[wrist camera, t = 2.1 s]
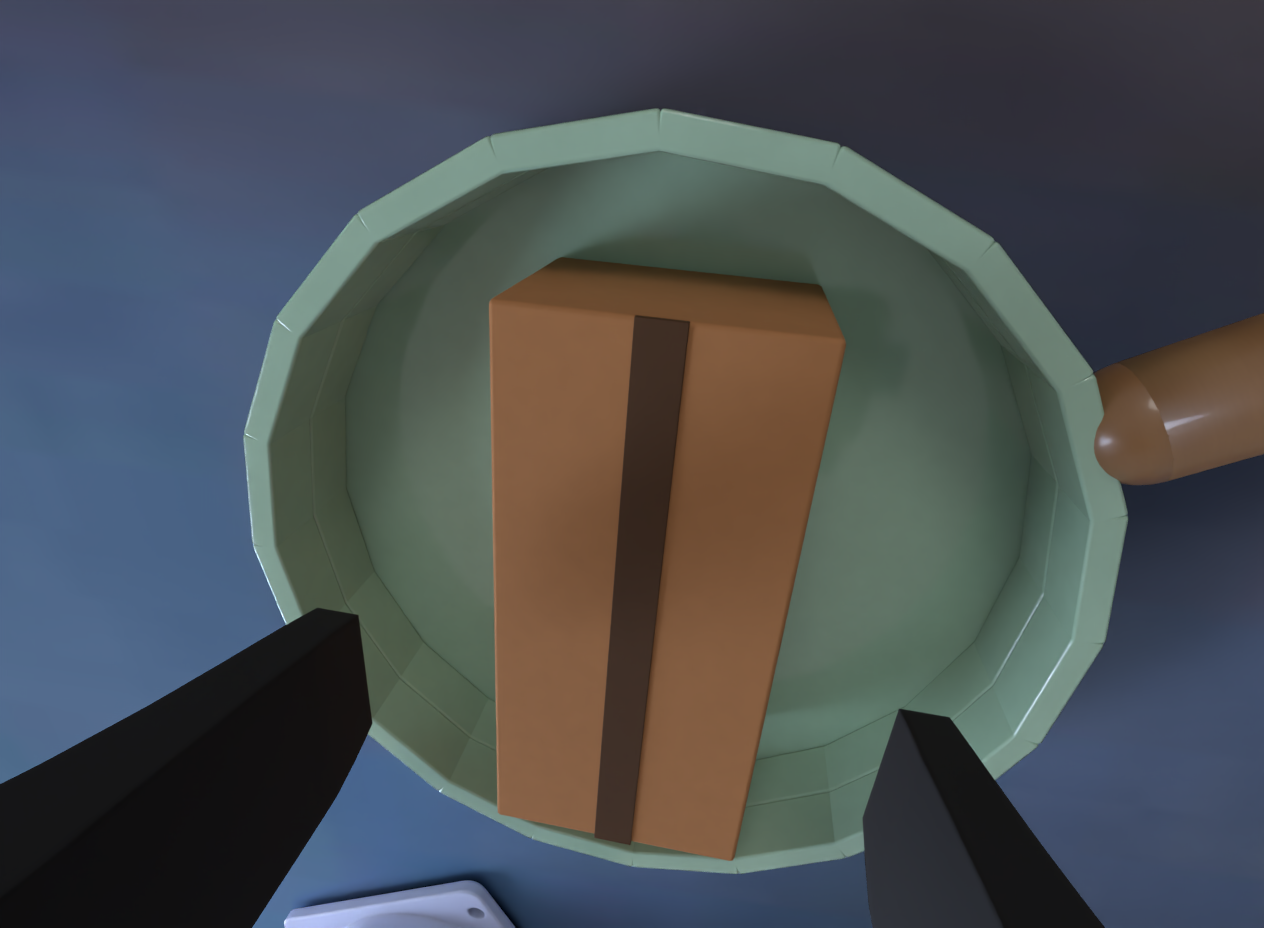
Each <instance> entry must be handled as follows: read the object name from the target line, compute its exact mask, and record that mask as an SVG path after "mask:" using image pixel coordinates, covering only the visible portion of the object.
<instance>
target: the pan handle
mask: <svg viewBox="0 0 1264 928" xmlns="http://www.w3.org/2000/svg"><path fill="white" fill-rule="evenodd" d="M1094 375H1095V376H1096V379H1097V383H1098V387H1099V392H1100V396H1101V400H1102V404H1103V409H1104V416H1103V419H1102V421H1101V423H1100V425H1099V426H1098V428H1097V431H1096V435H1095V440H1094V453H1095V457H1096V459H1097V461H1098V463H1099V465H1100V466H1101V467H1102V468H1103V470H1104V471H1105V472H1106V473H1107V474H1108V475H1110V476H1112V477H1114V478H1115V479H1117V480H1119V481H1120V482H1121V484H1127V485H1152V484H1157V483H1162V482H1166V481H1170V480H1173V479H1177V478H1180V477H1184V476H1187V475H1191V474H1195V473H1198V472H1202V471H1205V470H1209V469H1212V468H1216V467H1219V466H1223V465H1226V464H1230V463H1234V462H1237V461H1241V460H1244V459H1248V458H1251V457H1255V456H1258V455H1262V454H1264V313H1262V314H1259V315H1256V316H1253V317H1250V318H1247V319H1244V320H1241V321H1238V322H1235V323H1232V324H1229V325H1226V326H1224V327H1221V328H1218V329H1215V330H1212V331H1209V332H1206V333H1203V334H1200V335H1197V336H1194V337H1191V338H1188V339H1185V340H1182V341H1179V342H1176V343H1173V344H1170V345H1167V346H1164V347H1161V348H1158V349H1155V350H1152V351H1149V352H1146V353H1143V354H1141V355H1138V356H1135V357H1132V358H1129V359H1126V360H1123V361H1120V362H1117V363H1114V364H1112V365H1109V366H1107V367H1105V368H1102V369H1100V370H1098V371H1097V372H1095V373H1094Z"/></svg>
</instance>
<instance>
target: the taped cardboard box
mask: <svg viewBox="0 0 1264 928" xmlns="http://www.w3.org/2000/svg"><path fill="white" fill-rule="evenodd" d="M489 336H490V396H491V455H492V515H493V574H494V633H495V693H496V752H497V810H498V813H499V814H500V815H505V816H510V817H515V818H520V819H525V820H530V821H534V822H539V823H544V824H549V825H554V826H559V827H564V828H569V829H574V830H579V831H584V832H589V833H594V838H597V839H602V840H607V841H612V842H617V843H622V844H627V845H630V844H631V841H633V842H638V843H643V844H648V845H653V846H658V847H663V848H668V849H673V850H678V851H683V852H688V853H693V854H698V855H703V856H707V857H712V858H717V859H722V860H727V861H732V860H733V859H734V857H735V853H736V848H737V844H738V839H739V834H740V830H741V825H742V821H743V816H744V812H745V807H746V802H747V798H748V793H749V789H750V784H751V779H752V775H753V770H754V766H755V761H756V757H757V752H758V747H759V743H760V738H761V734H762V729H763V725H764V720H765V715H766V711H767V706H768V702H769V697H770V692H771V688H772V683H773V679H774V674H775V670H776V665H777V660H778V656H779V651H780V647H781V642H782V637H783V633H784V628H785V624H786V619H787V615H788V610H789V605H790V601H791V596H792V592H793V587H794V582H795V578H796V573H797V569H798V564H799V560H800V555H801V550H802V546H803V541H804V537H805V532H806V527H807V523H808V518H809V514H810V509H811V505H812V500H813V495H814V491H815V486H816V482H817V477H818V472H819V468H820V463H821V459H822V454H823V450H824V445H825V440H826V436H827V431H828V427H829V422H830V417H831V413H832V408H833V404H834V399H835V395H836V390H837V385H838V381H839V376H840V372H841V367H842V362H843V358H844V353H845V349H846V341H845V338H844V336H843V334H842V331H841V329H840V327H839V325H838V322H837V320H836V318H835V316H834V313H833V311H832V309H831V307H830V304H829V302H828V300H827V298H826V295H825V293H824V291H823V289H822V286H820V285H818V284H809V283H799V282H790V281H780V280H771V279H762V278H752V277H743V276H733V275H724V274H715V273H705V272H696V271H686V270H677V269H668V268H658V267H649V266H639V265H630V264H621V263H611V262H602V261H592V260H583V259H574V258H564V257H561V258H558V259H556V260H554V261H553V262H551V263H550V264H548V265H546V266H545V267H543V268H541V269H540V270H538V271H536V272H535V273H533V274H531V275H530V276H528V277H527V278H525V279H523V280H522V281H520V282H518V283H517V284H515V285H513V286H512V287H510V288H508V289H507V290H505V291H504V292H502V293H500V294H499V295H497V296H495V297H494V298H492V299H491V300H490V302H489Z"/></svg>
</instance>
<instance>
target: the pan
mask: <svg viewBox="0 0 1264 928" xmlns="http://www.w3.org/2000/svg"><path fill="white" fill-rule="evenodd" d="M561 257H564V258H574V259H583V260H592V261H602V262H611V263H621V264H630V265H639V266H649V267H658V268H668V269H677V270H686V271H696V272H705V273H715V274H724V275H733V276H743V277H752V278H762V279H771V280H780V281H790V282H799V283H809V284H818V285H820V286H822V289H823V291H824V293H825V295H826V298H827V300H828V302H829V304H830V307H831V309H832V311H833V313H834V316H835V318H836V320H837V322H838V325H839V327H840V329H841V331H842V334H843V336H844V338H845V341H846V349H845V353H844V358H843V362H842V367H841V372H840V376H839V381H838V385H837V390H836V395H835V399H834V404H833V408H832V413H831V417H830V422H829V427H828V431H827V436H826V440H825V445H824V450H823V454H822V459H821V463H820V468H819V472H818V477H817V482H816V486H815V491H814V495H813V500H812V505H811V509H810V514H809V518H808V523H807V527H806V532H805V537H804V541H803V546H802V550H801V555H800V560H799V564H798V569H797V573H796V578H795V582H794V587H793V592H792V596H791V601H790V605H789V610H788V615H787V619H786V624H785V628H784V633H783V637H782V642H781V647H780V651H779V656H778V660H777V665H776V670H775V674H774V679H773V683H772V688H771V692H770V697H769V702H768V706H767V711H766V715H765V720H764V725H763V729H762V734H761V738H760V743H759V747H758V752H757V757H756V761H755V766H754V770H753V775H752V779H751V784H750V789H749V793H748V798H747V802H746V807H745V812H744V816H743V821H742V825H741V830H740V834H739V839H738V844H737V848H736V853H735V857H734V859H733V860H732V861H727V860H722V859H717V858H712V857H707V856H703V855H698V854H693V853H688V852H683V851H678V850H673V849H668V848H663V847H658V846H653V845H648V844H643V843H638V842H633V841H631V844H630V845H627V844H622V843H617V842H612V841H607V840H602V839H597V838H594V833H589V832H584V831H579V830H574V829H569V828H564V827H559V826H554V825H549V824H544V823H539V822H534V821H530V820H525V819H520V818H515V817H510V816H505V815H500V814H499V813H498V810H497V752H496V693H495V633H494V574H493V515H492V455H491V396H490V336H489V302H490V300H491V299H492V298H494V297H495V296H497V295H499V294H500V293H502V292H504V291H505V290H507V289H508V288H510V287H512V286H513V285H515V284H517V283H518V282H520V281H522V280H523V279H525V278H527V277H528V276H530V275H531V274H533V273H535V272H536V271H538V270H540V269H541V268H543V267H545V266H546V265H548V264H550V263H551V262H553V261H554V260H556V259H558V258H561ZM1103 416H1104V409H1103V404H1102V400H1101V396H1100V392H1099V387H1098V383H1097V379H1096V376H1095V375H1094V374H1093V369H1092V368H1091V367H1090V365H1089V364H1088V363H1087V361H1086V360H1085V359H1084V357H1083V356H1082V354H1081V353H1080V352H1079V350H1078V349H1077V348H1076V346H1075V345H1074V344H1073V342H1072V341H1071V340H1070V338H1069V337H1068V336H1067V334H1066V333H1065V331H1064V330H1063V329H1062V327H1061V326H1060V325H1059V323H1058V322H1057V321H1056V319H1055V318H1054V317H1053V315H1052V314H1051V313H1050V311H1049V310H1048V309H1047V307H1046V306H1045V304H1044V303H1043V302H1042V300H1041V299H1040V298H1039V296H1038V295H1037V294H1036V292H1035V291H1034V290H1033V288H1032V287H1031V286H1030V284H1029V283H1028V281H1027V280H1026V279H1025V277H1024V276H1023V275H1022V273H1021V272H1020V271H1019V269H1018V268H1017V267H1016V265H1015V264H1014V263H1013V261H1012V260H1011V258H1010V257H1009V256H1008V254H1007V253H1006V252H1005V250H1004V249H1003V248H1002V246H1001V245H1000V244H999V243H997V242H995V241H994V239H993V237H991V236H990V235H988V234H987V233H985V232H983V231H982V230H980V229H979V228H977V227H975V226H974V225H972V224H971V223H969V222H967V221H966V220H964V219H962V218H961V217H959V216H958V215H956V214H954V213H953V212H951V211H950V210H948V209H946V208H945V207H943V206H942V205H940V204H938V203H937V202H935V201H934V200H932V199H930V198H929V197H927V196H925V195H924V194H922V193H921V192H919V191H917V190H916V189H914V188H913V187H911V186H909V185H908V184H906V183H905V182H903V181H901V180H900V179H898V178H896V177H895V176H893V175H892V174H890V173H888V172H887V171H885V170H884V169H882V168H880V167H879V166H877V165H876V164H874V163H872V162H871V161H869V160H867V159H866V158H864V157H863V156H861V155H859V154H858V153H856V152H855V151H853V150H851V149H850V148H848V147H847V146H841V145H840V144H839V143H836V142H831V141H826V140H821V139H816V138H811V137H806V136H801V135H796V134H791V133H786V132H781V131H776V130H771V129H766V128H761V127H756V126H751V125H746V124H741V123H736V122H731V121H726V120H721V119H716V118H711V117H706V116H701V115H696V114H692V113H687V112H682V111H677V110H672V109H667V108H664V109H662V110H661V109H657V108H654V109H647V110H641V111H635V112H628V113H622V114H616V115H609V116H603V117H597V118H591V119H584V120H578V121H572V122H565V123H559V124H553V125H546V126H540V127H534V128H527V129H521V130H515V131H509V132H502V133H496V134H493V135H492V136H486V137H484V138H482V139H481V140H479V141H477V142H476V143H474V144H472V145H470V146H469V147H467V148H465V149H464V150H462V151H460V152H458V153H457V154H455V155H453V156H452V157H450V158H448V159H446V160H445V161H443V162H441V163H440V164H438V165H436V166H434V167H433V168H431V169H429V170H428V171H426V172H424V173H422V174H421V175H419V176H417V177H416V178H414V179H412V180H410V181H409V182H407V183H405V184H404V185H402V186H400V187H399V188H397V189H395V190H393V191H392V192H390V193H388V194H387V195H385V196H383V197H381V198H380V199H378V200H376V201H375V202H373V203H371V204H369V205H368V206H366V207H364V208H363V209H361V210H359V212H358V214H356V215H354V216H353V218H352V219H351V220H350V222H349V223H348V224H347V225H346V227H345V228H344V229H343V231H342V232H341V233H340V235H339V236H338V237H337V239H336V240H335V241H334V242H333V244H332V245H331V246H330V248H329V249H328V250H327V252H326V253H325V254H324V255H323V257H322V258H321V259H320V261H319V262H318V263H317V265H316V266H315V267H314V268H313V270H312V271H311V272H310V274H309V275H308V276H307V278H306V279H305V280H304V282H303V283H302V284H301V285H300V287H299V288H298V289H297V291H296V292H295V293H294V295H293V296H292V297H291V298H290V300H289V301H288V302H287V304H286V305H285V306H284V308H283V309H282V310H281V312H280V313H279V314H278V315H277V318H276V320H275V322H274V324H273V328H272V331H271V335H270V339H269V342H268V346H267V350H266V353H265V357H264V361H263V364H262V368H261V371H260V375H259V379H258V382H257V386H256V390H255V393H254V397H253V400H252V404H251V408H250V411H249V415H248V419H247V422H246V426H245V429H244V433H245V434H244V437H243V439H244V451H245V462H246V474H247V486H248V497H249V509H250V521H251V532H252V543H253V544H254V550H255V552H256V554H257V557H258V559H259V562H260V564H261V566H262V569H263V571H264V574H265V576H266V578H267V581H268V583H269V586H270V588H271V590H272V593H273V595H274V598H275V600H276V602H277V605H278V607H279V610H280V612H281V614H282V617H283V619H284V622H285V624H286V625H287V624H289V623H290V622H292V621H294V620H296V619H297V618H299V617H301V616H303V615H305V614H307V613H308V612H310V611H312V610H314V609H316V608H322V609H328V610H334V611H340V612H345V613H351V614H357V615H359V622H360V630H361V638H362V646H363V653H364V661H365V669H366V677H367V685H368V693H369V700H370V708H371V716H372V726H371V728H370V730H369V732H368V735H369V736H370V737H372V738H373V739H374V740H375V741H377V742H378V743H379V744H380V745H382V746H383V747H384V748H385V749H387V750H388V751H389V752H390V753H391V754H393V755H394V756H395V757H396V758H398V759H399V760H400V761H401V762H403V763H404V764H405V765H406V766H407V767H409V768H410V769H411V770H412V771H414V772H415V773H416V774H417V775H419V776H420V777H421V778H422V779H424V780H425V781H426V782H427V783H428V784H430V785H431V786H432V787H433V788H435V789H436V790H438V791H439V790H440V793H442V794H444V795H446V796H448V797H450V798H452V799H454V800H456V801H458V802H460V803H462V804H463V805H465V806H467V807H469V808H471V809H473V810H475V811H477V812H479V813H481V814H483V815H485V816H487V817H489V818H491V819H493V820H495V821H497V822H499V823H501V824H503V825H505V826H507V827H509V828H511V829H513V830H515V831H516V832H518V833H520V834H522V835H524V836H526V837H528V838H532V839H533V840H536V841H540V842H543V843H547V844H551V845H554V846H558V847H562V848H565V849H569V850H572V851H576V852H580V853H583V854H587V855H590V856H594V857H598V858H601V859H605V860H608V861H612V862H616V863H619V864H623V865H626V866H630V867H631V866H634V867H639V868H654V869H669V870H684V871H698V872H713V873H728V874H738V872H739V873H740V874H744V873H751V872H758V871H764V870H771V869H778V868H785V867H791V866H798V865H805V864H812V863H818V862H825V861H832V860H839V859H844V858H845V857H851V856H853V855H856V854H858V853H861V852H863V851H864V835H863V819H862V818H863V815H864V812H865V809H866V806H867V803H868V800H869V797H870V794H871V791H872V788H873V785H874V782H875V779H876V776H877V773H878V770H879V767H880V764H881V761H882V758H883V755H884V752H885V749H886V746H887V743H888V740H889V737H890V734H891V731H892V728H893V725H894V722H895V719H896V716H897V713H898V710H899V709H905V710H911V711H917V712H923V713H928V714H934V715H940V716H946V717H950V718H951V720H952V721H953V722H954V724H955V725H956V727H957V728H958V729H959V731H960V732H961V733H962V735H963V736H964V738H965V739H966V740H967V742H968V743H969V744H970V746H971V747H972V749H973V750H974V751H975V753H976V754H977V756H978V757H979V759H980V760H981V761H982V763H983V764H984V766H985V767H986V768H987V770H988V771H989V773H990V774H991V775H992V777H993V778H994V780H996V779H998V778H999V777H1000V776H1001V775H1003V774H1004V773H1005V772H1006V771H1008V770H1009V769H1010V768H1012V767H1013V766H1014V765H1015V764H1017V763H1018V762H1019V761H1020V760H1022V759H1023V758H1024V757H1025V756H1027V755H1028V754H1029V753H1031V752H1032V751H1033V750H1034V749H1036V748H1037V747H1038V744H1040V743H1042V741H1043V739H1044V738H1045V736H1046V735H1047V733H1048V732H1049V730H1050V729H1051V727H1052V725H1053V724H1054V722H1055V721H1056V719H1057V718H1058V716H1059V715H1060V713H1061V711H1062V710H1063V708H1064V707H1065V705H1066V704H1067V702H1068V700H1069V699H1070V697H1071V696H1072V694H1073V693H1074V691H1075V690H1076V688H1077V686H1078V685H1079V683H1080V682H1081V680H1082V679H1083V677H1084V676H1085V674H1086V672H1087V671H1088V669H1089V668H1090V666H1091V665H1092V663H1093V662H1094V660H1095V658H1096V657H1097V655H1098V654H1099V652H1100V651H1101V649H1102V647H1103V643H1105V641H1106V636H1107V631H1108V625H1109V620H1110V614H1111V609H1112V604H1113V598H1114V593H1115V588H1116V582H1117V577H1118V571H1119V566H1120V561H1121V555H1122V550H1123V545H1124V539H1125V534H1126V529H1127V523H1128V516H1127V514H1128V511H1127V507H1126V502H1125V498H1124V494H1123V490H1122V485H1121V482H1120V481H1119V480H1117V479H1115V478H1114V477H1112V476H1110V475H1108V474H1107V473H1106V472H1105V471H1104V470H1103V468H1102V467H1101V466H1100V465H1099V463H1098V461H1097V459H1096V457H1095V453H1094V440H1095V435H1096V431H1097V428H1098V426H1099V425H1100V423H1101V421H1102V419H1103Z"/></svg>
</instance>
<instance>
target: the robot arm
mask: <svg viewBox="0 0 1264 928" xmlns="http://www.w3.org/2000/svg"><path fill="white" fill-rule="evenodd" d="M371 726H372V716H371V708H370V700H369V693H368V685H367V677H366V669H365V661H364V653H363V646H362V638H361V630H360V622H359V615H357V614H351V613H345V612H340V611H334V610H328V609H322V608H316V609H314V610H312V611H310V612H308V613H307V614H305V615H303V616H301V617H299V618H297V619H296V620H294V621H292V622H290V623H289V624H287V625H285V626H283V627H282V628H280V629H278V630H277V631H275V632H273V633H271V634H270V635H268V636H266V637H265V638H263V639H261V640H260V641H258V642H256V643H255V644H253V645H251V646H249V647H248V648H246V649H244V650H243V651H241V652H239V653H238V654H236V655H234V656H233V657H231V658H229V659H228V660H226V661H224V662H223V663H221V664H219V665H217V666H216V667H214V668H212V669H211V670H209V671H207V672H205V673H204V674H202V675H200V676H199V677H197V678H195V679H193V680H192V681H190V682H188V683H187V684H185V685H183V686H181V687H180V688H178V689H176V690H175V691H173V692H171V693H169V694H168V695H166V696H164V697H163V698H161V699H159V700H157V701H156V702H154V703H152V704H150V705H149V706H147V707H145V708H143V709H141V710H140V711H138V712H136V713H134V714H132V715H130V716H129V717H127V718H125V719H123V720H121V721H119V722H117V723H116V724H114V725H112V726H110V727H108V728H106V729H105V730H103V731H101V732H99V733H97V734H95V735H93V736H92V737H90V738H88V739H86V740H84V741H82V742H80V743H79V744H77V745H75V746H73V747H71V748H69V749H68V750H66V751H64V752H62V753H60V754H58V755H56V756H55V757H53V758H51V759H49V760H47V761H45V762H43V763H41V764H40V765H38V766H36V767H34V768H32V769H30V770H28V771H26V772H24V773H22V774H20V775H18V776H16V777H14V778H12V779H10V780H8V781H6V782H4V783H2V784H0V928H252V927H253V925H254V924H255V922H256V921H257V919H258V918H259V916H260V915H261V913H262V911H263V910H264V908H265V907H266V905H267V904H268V902H269V901H270V899H271V898H272V896H273V895H274V893H275V892H276V890H277V888H278V887H279V885H280V884H281V882H282V881H283V879H284V878H285V876H286V875H287V873H288V872H289V870H290V869H291V867H292V865H293V864H294V862H295V861H296V859H297V858H298V856H299V855H300V853H301V852H302V850H303V849H304V847H305V845H306V844H307V842H308V841H309V839H310V838H311V836H312V834H313V833H314V831H315V830H316V828H317V827H318V825H319V824H320V822H321V820H322V819H323V817H324V816H325V814H326V813H327V811H328V809H329V808H330V806H331V805H332V803H333V801H334V800H335V798H336V797H337V795H338V793H339V791H340V789H341V787H342V785H343V783H344V781H345V779H346V777H347V775H348V773H349V772H350V770H351V768H352V766H353V764H354V762H355V760H356V758H357V755H358V753H359V751H360V749H361V747H362V745H363V743H364V741H365V739H366V737H367V734H368V732H369V730H370V728H371ZM862 819H863V835H864V851H865V866H866V878H867V891H868V903H869V910H870V915H871V921H872V927H873V928H1105V927H1104V926H1103V925H1102V923H1101V922H1100V921H1099V919H1098V918H1097V917H1096V916H1095V914H1094V913H1093V912H1092V910H1091V909H1090V908H1089V907H1088V905H1087V904H1086V903H1085V901H1084V900H1083V899H1082V897H1081V896H1080V895H1079V893H1078V892H1077V891H1076V889H1075V888H1074V887H1073V885H1072V884H1071V883H1070V882H1069V880H1068V879H1067V878H1066V876H1065V875H1064V874H1063V872H1062V871H1061V870H1060V868H1059V867H1058V866H1057V864H1056V863H1055V862H1054V861H1053V859H1052V858H1051V857H1050V855H1049V854H1048V853H1047V851H1046V850H1045V849H1044V847H1043V846H1042V845H1041V843H1040V842H1039V840H1038V839H1037V838H1036V836H1035V835H1034V834H1033V832H1032V831H1031V830H1030V828H1029V827H1028V825H1027V824H1026V823H1025V821H1024V820H1023V819H1022V817H1021V816H1020V814H1019V813H1018V812H1017V810H1016V809H1015V807H1014V806H1013V805H1012V803H1011V802H1010V801H1009V799H1008V798H1007V796H1006V795H1005V794H1004V792H1003V791H1002V789H1001V788H1000V787H999V785H998V784H997V782H996V781H995V780H994V778H993V777H992V775H991V774H990V773H989V771H988V770H987V768H986V767H985V766H984V764H983V763H982V761H981V760H980V759H979V757H978V756H977V754H976V753H975V751H974V750H973V749H972V747H971V746H970V744H969V743H968V742H967V740H966V739H965V738H964V736H963V735H962V733H961V732H960V731H959V729H958V728H957V727H956V725H955V724H954V722H953V721H952V720H951V718H950V717H946V716H940V715H934V714H928V713H923V712H917V711H911V710H905V709H899V710H898V713H897V716H896V719H895V722H894V725H893V728H892V731H891V734H890V737H889V740H888V743H887V746H886V749H885V752H884V755H883V758H882V761H881V764H880V767H879V770H878V773H877V776H876V779H875V782H874V785H873V788H872V791H871V794H870V797H869V800H868V803H867V806H866V809H865V812H864V815H863V818H862ZM284 925H285V928H515V926H514V925H513V924H512V922H511V921H510V920H509V918H508V917H507V916H506V915H505V913H504V912H503V911H502V909H501V908H500V907H499V905H498V904H497V903H496V902H495V900H494V899H493V898H492V896H491V895H490V894H489V893H488V891H487V890H486V889H485V887H483V886H482V885H481V884H480V883H478V882H475V881H472V880H464V881H458V882H452V883H446V884H440V885H434V886H428V887H422V888H416V889H410V890H404V891H399V892H393V893H387V894H381V895H375V896H369V897H363V898H357V899H351V900H345V901H339V902H333V903H327V904H321V905H315V906H309V907H303V908H297V909H294V910H291V912H290V913H289V915H288V917H287V918H286V920H285V922H284Z"/></svg>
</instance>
